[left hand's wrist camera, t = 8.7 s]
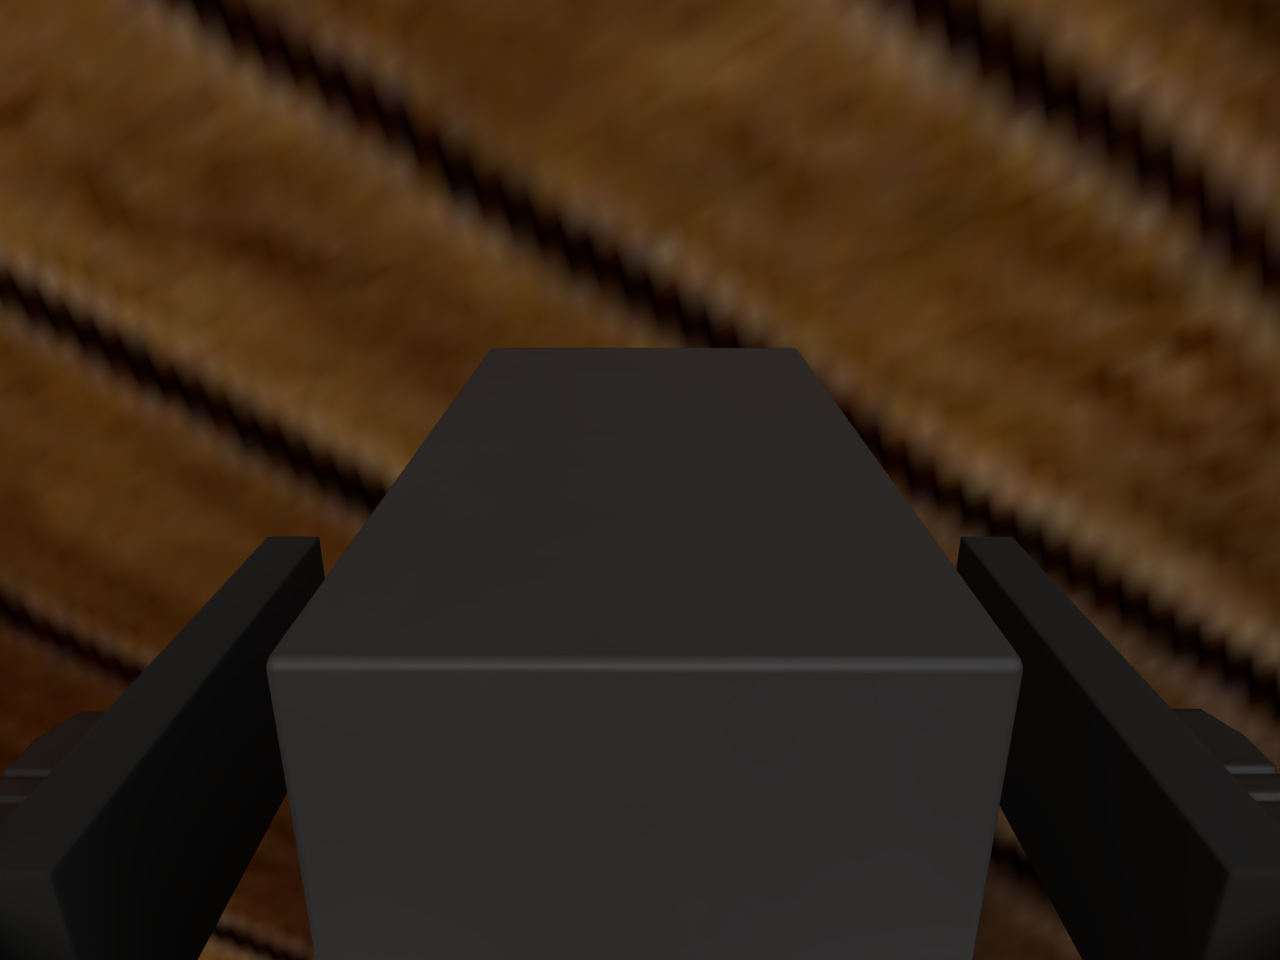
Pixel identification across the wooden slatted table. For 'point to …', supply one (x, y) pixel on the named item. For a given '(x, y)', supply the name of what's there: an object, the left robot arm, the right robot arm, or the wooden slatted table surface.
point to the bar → (644, 683)
